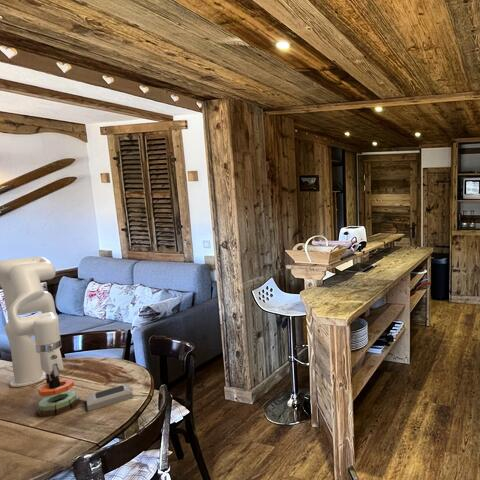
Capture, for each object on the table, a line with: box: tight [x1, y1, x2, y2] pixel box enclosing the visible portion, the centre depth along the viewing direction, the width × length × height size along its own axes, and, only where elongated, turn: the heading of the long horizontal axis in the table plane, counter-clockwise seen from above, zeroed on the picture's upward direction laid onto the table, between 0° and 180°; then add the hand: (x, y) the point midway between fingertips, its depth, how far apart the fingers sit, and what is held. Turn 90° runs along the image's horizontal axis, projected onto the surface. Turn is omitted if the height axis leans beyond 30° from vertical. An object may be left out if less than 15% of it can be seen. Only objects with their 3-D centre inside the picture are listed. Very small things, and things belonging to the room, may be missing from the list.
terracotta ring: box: [38, 378, 75, 398], centre depth 149 cm, size 10×10×2 cm
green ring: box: [37, 390, 78, 411], centre depth 150 cm, size 11×11×2 cm
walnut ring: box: [36, 396, 80, 418], centre depth 150 cm, size 12×12×2 cm
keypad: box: [85, 383, 133, 412], centre depth 156 cm, size 10×4×15 cm
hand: (53, 386), depth 151 cm, fingers closed on terracotta ring, 2 cm apart
